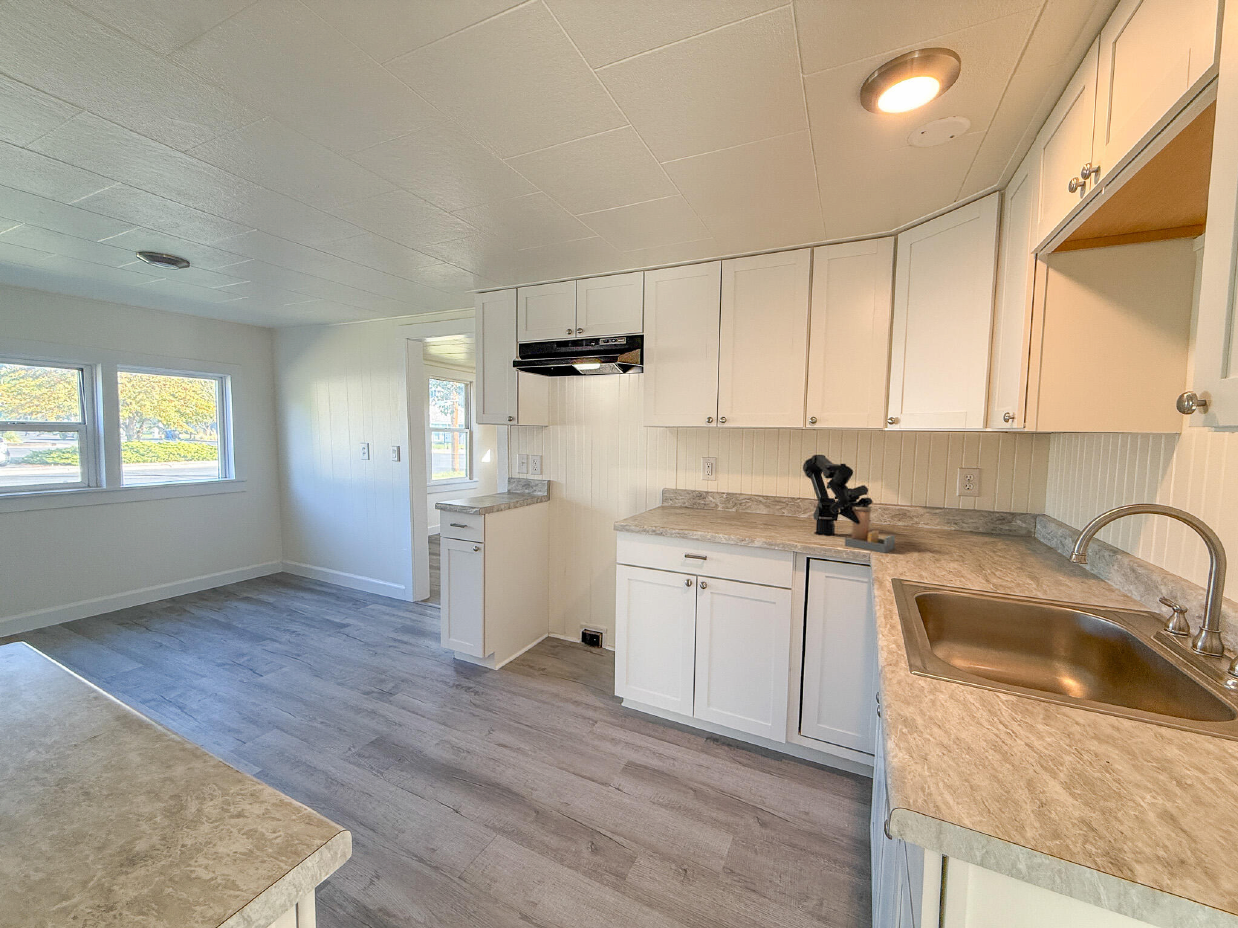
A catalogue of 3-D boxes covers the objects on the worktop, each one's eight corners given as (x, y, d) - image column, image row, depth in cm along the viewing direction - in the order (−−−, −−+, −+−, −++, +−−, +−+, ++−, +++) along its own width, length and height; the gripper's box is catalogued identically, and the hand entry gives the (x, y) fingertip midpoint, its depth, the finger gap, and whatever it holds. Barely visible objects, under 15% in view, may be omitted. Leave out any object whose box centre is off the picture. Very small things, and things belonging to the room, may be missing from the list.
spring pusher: (867, 547, 185) (867, 532, 184) (874, 544, 190) (875, 530, 190) (870, 547, 184) (871, 533, 184) (878, 544, 189) (878, 530, 189)
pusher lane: (844, 545, 190) (845, 531, 189) (855, 542, 197) (855, 528, 196) (885, 553, 179) (886, 538, 179) (894, 548, 186) (895, 534, 186)
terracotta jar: (848, 539, 191) (850, 507, 190) (855, 537, 195) (856, 505, 194) (865, 542, 186) (867, 509, 185) (871, 540, 190) (873, 507, 189)
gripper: (838, 479, 188) (862, 512, 179) (869, 477, 196) (894, 509, 187) (820, 496, 195) (842, 529, 186) (851, 494, 204) (874, 525, 195)
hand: (864, 522), depth 189 cm, fingers closed on terracotta jar, 6 cm apart
